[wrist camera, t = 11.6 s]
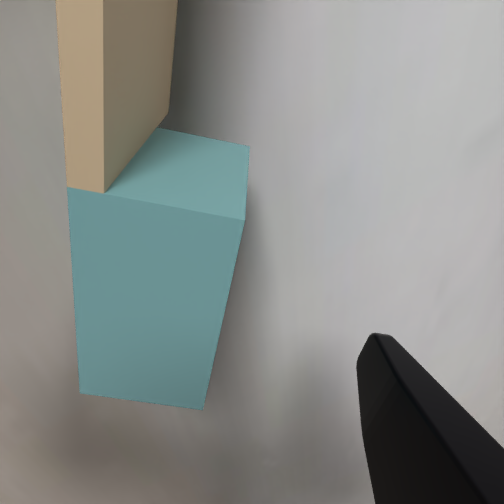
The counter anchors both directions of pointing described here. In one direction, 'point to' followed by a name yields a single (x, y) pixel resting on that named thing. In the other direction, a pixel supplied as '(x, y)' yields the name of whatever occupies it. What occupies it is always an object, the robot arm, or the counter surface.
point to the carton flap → (142, 208)
